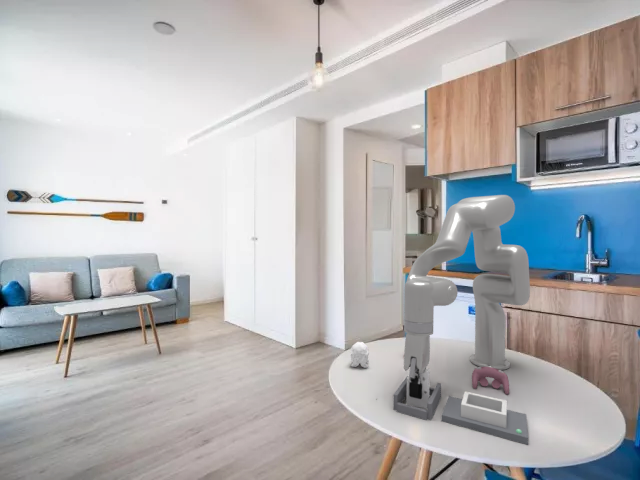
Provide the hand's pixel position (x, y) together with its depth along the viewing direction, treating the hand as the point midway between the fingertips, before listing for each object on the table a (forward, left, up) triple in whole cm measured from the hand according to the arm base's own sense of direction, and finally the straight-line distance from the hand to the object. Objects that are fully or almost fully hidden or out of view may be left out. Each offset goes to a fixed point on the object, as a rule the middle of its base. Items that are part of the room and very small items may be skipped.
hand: (417, 392), depth 89 cm
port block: (0, +16, -3) cm, 16 cm away
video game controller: (-20, +16, -3) cm, 26 cm away
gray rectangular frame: (0, 0, -3) cm, 3 cm away
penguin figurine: (-17, -24, -3) cm, 30 cm away
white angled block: (0, 0, -3) cm, 3 cm away
